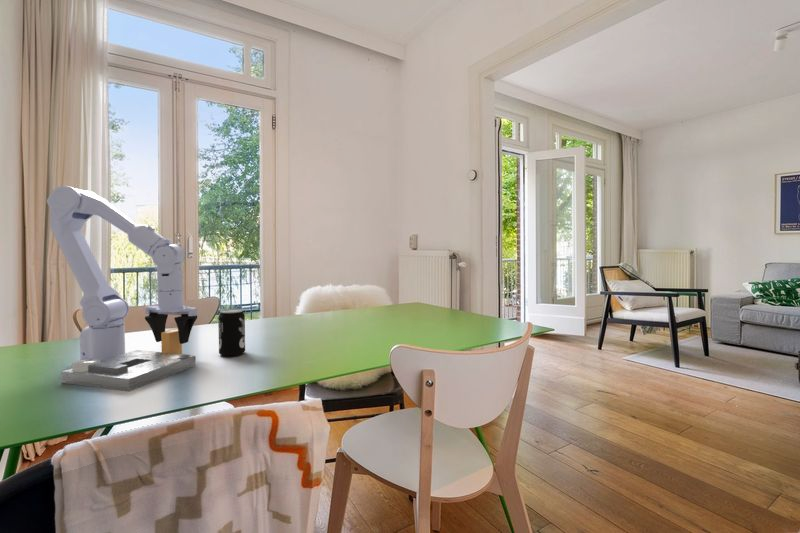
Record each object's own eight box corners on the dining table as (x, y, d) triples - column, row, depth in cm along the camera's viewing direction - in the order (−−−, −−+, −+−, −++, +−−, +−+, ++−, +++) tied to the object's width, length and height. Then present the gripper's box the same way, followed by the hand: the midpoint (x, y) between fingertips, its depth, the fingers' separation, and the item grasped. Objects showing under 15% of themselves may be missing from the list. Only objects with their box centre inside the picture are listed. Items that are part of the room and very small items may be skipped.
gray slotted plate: (61, 382, 85) (61, 364, 84) (137, 359, 102) (136, 344, 102) (128, 391, 80) (128, 371, 80) (195, 365, 97) (195, 349, 97)
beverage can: (235, 358, 104) (235, 312, 103) (213, 356, 105) (212, 311, 104) (250, 351, 110) (249, 309, 110) (229, 350, 111) (228, 308, 111)
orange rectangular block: (161, 359, 102) (161, 332, 102) (174, 355, 106) (173, 329, 106) (169, 360, 102) (169, 333, 101) (182, 356, 106) (181, 330, 105)
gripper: (134, 291, 101) (136, 343, 102) (181, 293, 97) (183, 347, 98) (157, 288, 108) (159, 337, 109) (202, 289, 104) (203, 340, 105)
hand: (172, 342), depth 104 cm, fingers open, 7 cm apart
